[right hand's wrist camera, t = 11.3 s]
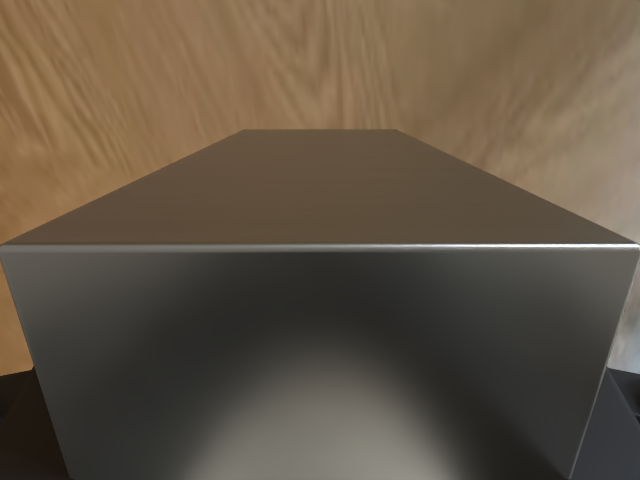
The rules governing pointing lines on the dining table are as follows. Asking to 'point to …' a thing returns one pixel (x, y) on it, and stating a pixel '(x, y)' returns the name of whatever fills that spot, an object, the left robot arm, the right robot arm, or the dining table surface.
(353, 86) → the dining table surface
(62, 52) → the dining table surface
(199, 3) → the dining table surface
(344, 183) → the box
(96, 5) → the dining table surface
